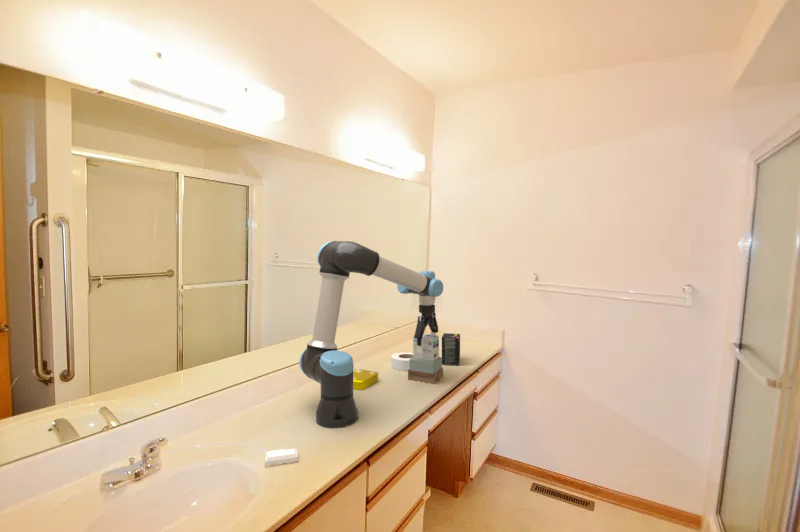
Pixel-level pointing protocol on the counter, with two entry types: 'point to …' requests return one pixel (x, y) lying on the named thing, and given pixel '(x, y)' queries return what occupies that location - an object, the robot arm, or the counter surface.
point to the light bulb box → (427, 348)
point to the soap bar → (281, 456)
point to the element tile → (363, 378)
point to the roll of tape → (401, 361)
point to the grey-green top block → (425, 365)
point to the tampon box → (450, 349)
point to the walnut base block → (425, 376)
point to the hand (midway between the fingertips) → (426, 349)
